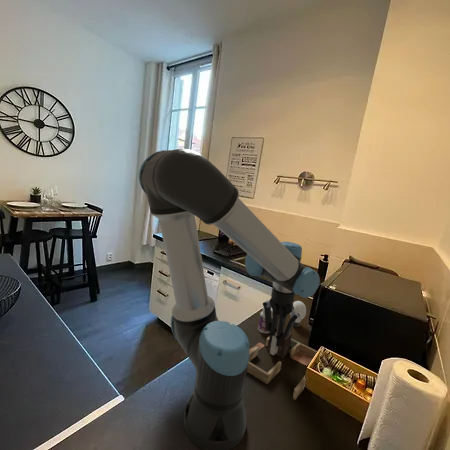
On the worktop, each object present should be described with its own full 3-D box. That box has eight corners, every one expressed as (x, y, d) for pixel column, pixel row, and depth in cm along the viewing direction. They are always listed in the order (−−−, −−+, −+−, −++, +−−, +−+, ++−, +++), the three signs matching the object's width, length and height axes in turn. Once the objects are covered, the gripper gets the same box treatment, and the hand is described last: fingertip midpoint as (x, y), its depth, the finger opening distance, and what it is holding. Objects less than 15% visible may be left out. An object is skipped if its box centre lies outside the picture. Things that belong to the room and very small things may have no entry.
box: (289, 351, 96) (292, 333, 95) (282, 359, 91) (285, 339, 90) (274, 344, 100) (277, 326, 98) (266, 351, 95) (269, 332, 94)
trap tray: (294, 401, 73) (295, 392, 73) (232, 362, 86) (234, 354, 86) (322, 362, 92) (324, 354, 92) (269, 335, 105) (270, 328, 105)
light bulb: (292, 319, 120) (296, 296, 119) (306, 326, 116) (310, 302, 114) (284, 323, 115) (288, 300, 114) (298, 331, 111) (303, 306, 109)
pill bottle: (260, 334, 105) (264, 311, 103) (255, 327, 110) (259, 305, 108) (273, 333, 106) (276, 311, 105) (267, 326, 111) (270, 305, 110)
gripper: (307, 292, 87) (295, 357, 90) (272, 279, 95) (263, 339, 98) (297, 298, 81) (285, 367, 85) (261, 284, 89) (252, 348, 92)
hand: (273, 352), depth 91 cm, fingers closed
